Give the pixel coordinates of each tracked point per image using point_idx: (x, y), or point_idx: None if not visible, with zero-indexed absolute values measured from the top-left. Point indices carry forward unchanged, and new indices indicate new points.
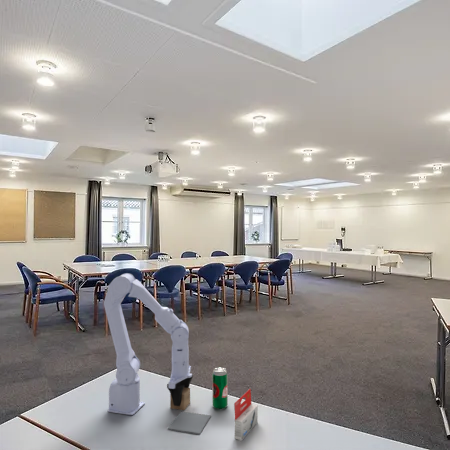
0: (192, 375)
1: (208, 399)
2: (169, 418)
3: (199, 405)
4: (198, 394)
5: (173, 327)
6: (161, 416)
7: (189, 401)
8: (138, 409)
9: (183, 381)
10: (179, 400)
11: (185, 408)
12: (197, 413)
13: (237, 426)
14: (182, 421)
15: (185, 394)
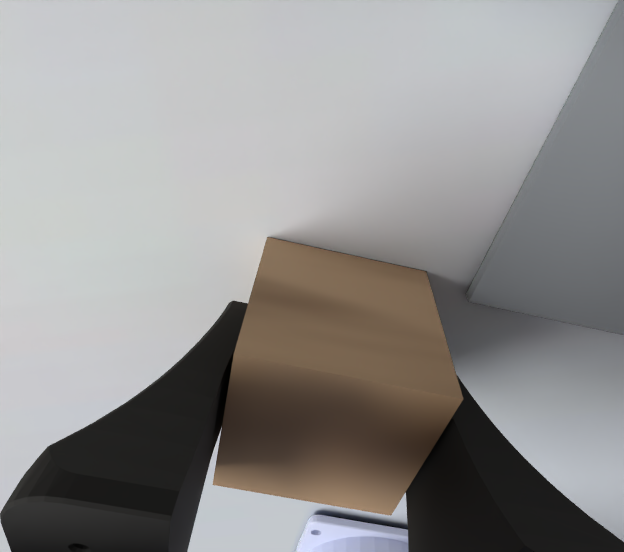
0: (45, 502)
1: (130, 3)
2: (554, 365)
3: (316, 121)
4: (39, 169)
5: None
6: (505, 415)
7: (283, 254)
8: (400, 530)
9: (193, 505)
10: (463, 391)
11: (398, 268)
12: (565, 122)
13: None
14: None
15: (419, 379)
